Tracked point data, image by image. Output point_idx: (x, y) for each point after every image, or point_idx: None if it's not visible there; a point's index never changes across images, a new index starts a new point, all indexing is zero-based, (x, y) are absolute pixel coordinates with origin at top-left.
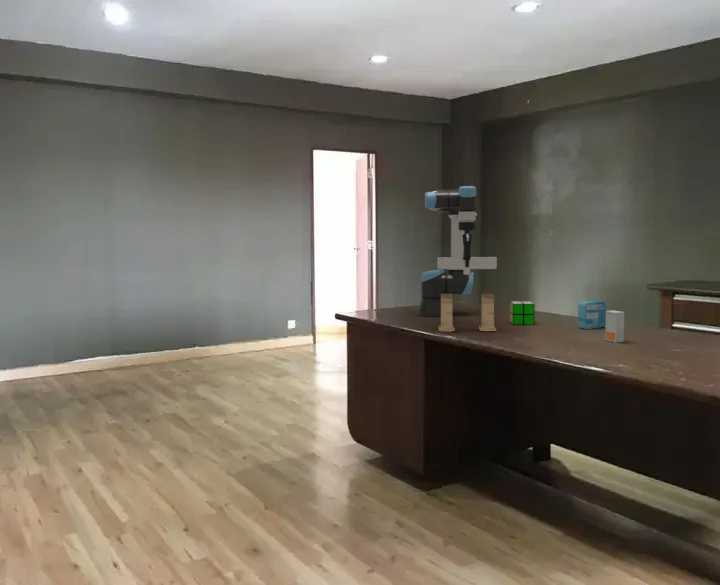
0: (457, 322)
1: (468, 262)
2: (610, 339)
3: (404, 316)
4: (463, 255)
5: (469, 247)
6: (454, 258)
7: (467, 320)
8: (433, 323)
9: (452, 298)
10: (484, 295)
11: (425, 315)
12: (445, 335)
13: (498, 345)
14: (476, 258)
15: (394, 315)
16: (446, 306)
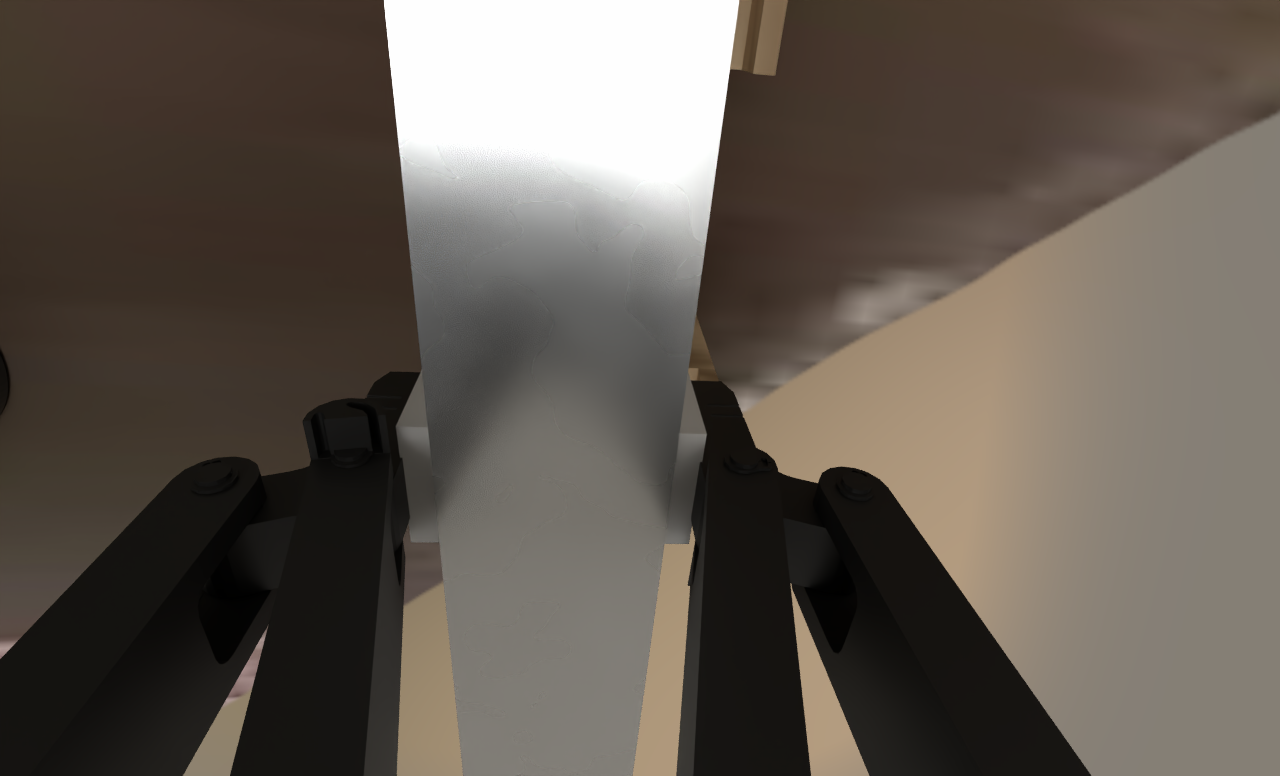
0: (254, 193)
1: (747, 439)
2: None
3: (60, 512)
4: (268, 599)
5: (1052, 759)
6: (638, 698)
7: (104, 92)
8: (345, 361)
9: (715, 374)
10: (778, 48)
11: (2, 401)
12: (831, 322)
13: (1275, 36)
14: (689, 302)
15: (38, 561)
16: None
